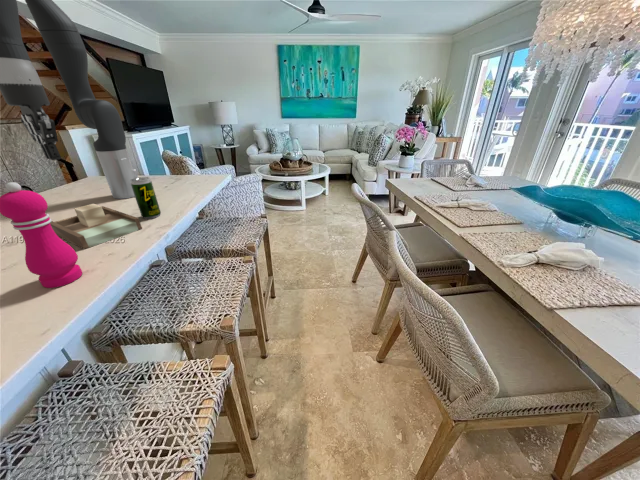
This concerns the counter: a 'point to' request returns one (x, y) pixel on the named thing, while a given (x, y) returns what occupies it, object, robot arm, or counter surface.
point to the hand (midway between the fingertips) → (54, 158)
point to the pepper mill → (40, 237)
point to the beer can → (145, 197)
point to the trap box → (96, 228)
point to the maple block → (90, 215)
